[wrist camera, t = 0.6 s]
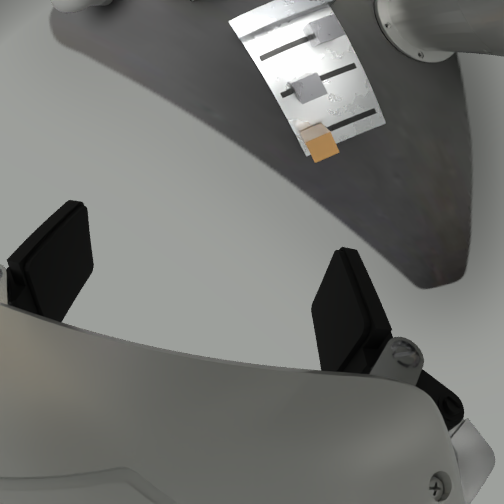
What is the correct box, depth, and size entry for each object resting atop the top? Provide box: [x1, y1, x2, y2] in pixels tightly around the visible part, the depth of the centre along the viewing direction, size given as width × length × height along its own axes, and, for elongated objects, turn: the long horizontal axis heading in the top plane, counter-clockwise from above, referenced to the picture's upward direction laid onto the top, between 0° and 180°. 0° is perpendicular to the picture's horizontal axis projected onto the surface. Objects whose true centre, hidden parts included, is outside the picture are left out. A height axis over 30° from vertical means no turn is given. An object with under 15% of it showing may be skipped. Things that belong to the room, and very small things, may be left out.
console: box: [228, 0, 386, 157], centre depth 26 cm, size 11×18×7 cm, turn 29°
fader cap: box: [300, 123, 339, 163], centre depth 30 cm, size 3×2×5 cm
